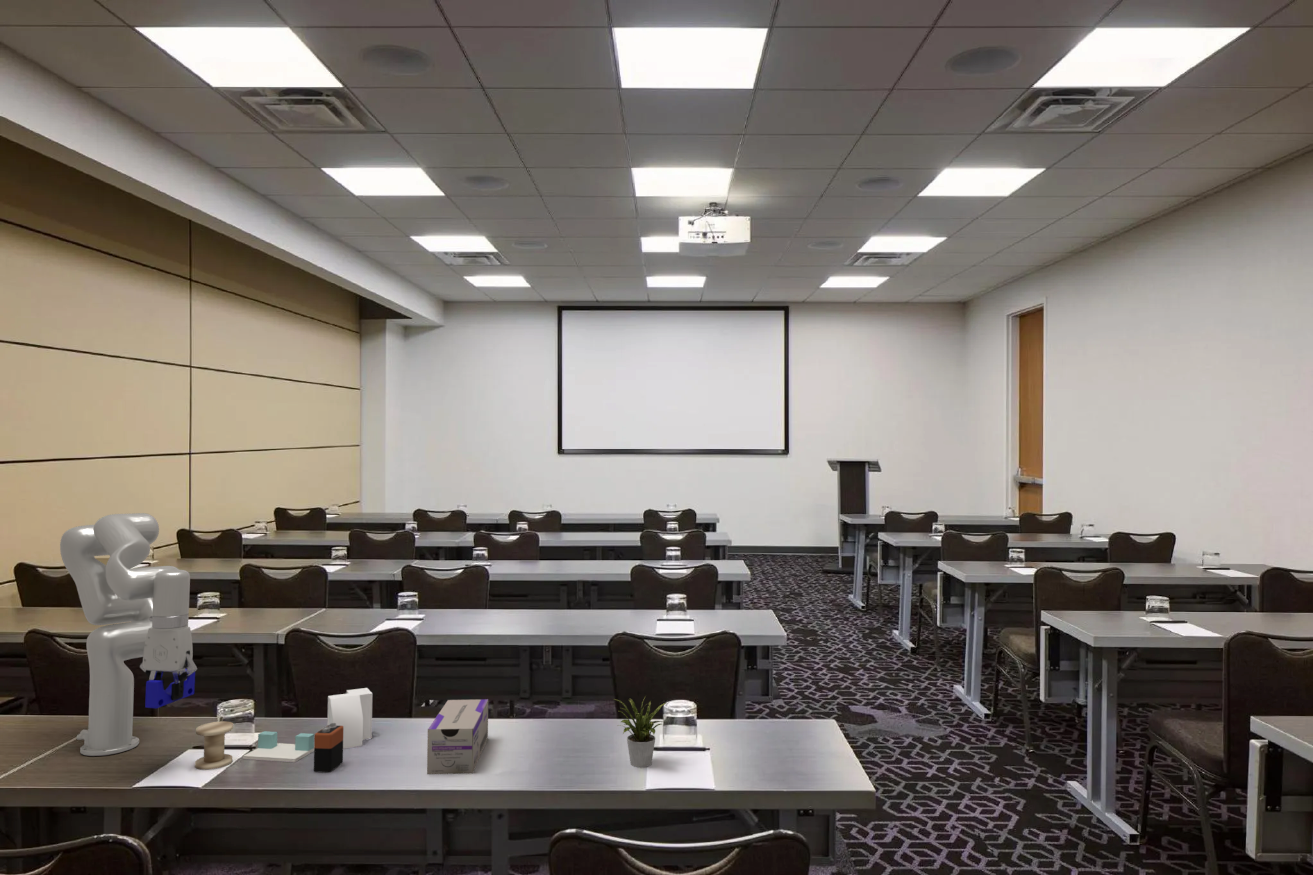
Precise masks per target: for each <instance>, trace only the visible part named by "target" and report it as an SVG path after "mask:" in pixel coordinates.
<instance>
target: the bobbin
mask: <svg viewBox="0 0 1313 875" xmlns="http://www.w3.org/2000/svg"><path fill="white" fill-rule="evenodd" d="M233 729H234V723H233V722H231V721H213V722H208V723H204V724H201V725H198V726H197V727H196V729H195V735H197V736H203V756H202V757H200V758H199V759H196V760H195V762H194V768H195V769H197V770H205V771H206V770H216V769H220V768H224V767H227V766H229V765H231V764H232V763H233V756H232V754H228V753H225V740H226V737H225V736H226V733H229V732H231V731H232V730H233Z"/></svg>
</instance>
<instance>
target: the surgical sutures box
mask: <svg viewBox="0 0 1313 875" xmlns="http://www.w3.org/2000/svg"><path fill="white" fill-rule="evenodd" d="M488 740H489V699H488V698H487V699H486V698H485V699H447V701H446V702H445V704H444V705H443V706H442V708H441V710H440V711H439V712H438V714H437V715H436V717H435V718H434V720H433V721H432V723H431V724H430V726H429V727H428V728H427V743H426V744H427V745H426V746H427V747H426V749H427V750H426V751H427V754H426V755H427V757H426V759H427V760H426V775H457V774H458V775H459V774H461V775H463V774H466V775H467V774H473V773H474V772H475V769H476V767H477V765H478V762H479V760H480V758H481V756H482V753H483V751H484V749H485V746H486V744H487V742H488Z"/></svg>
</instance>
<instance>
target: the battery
mask: <svg viewBox="0 0 1313 875" xmlns="http://www.w3.org/2000/svg"><path fill="white" fill-rule="evenodd" d="M343 759H344V749H343V726H336V723H331V724H329V725H328V726H327V725H326V726H324V727H321V729H320V730H319V731H317V732H316V733H314V751H313V771H314V772H316V773H331V772H332V771H333V770H335V769H336V768H338V767H339V766H340V765H342V763H344V762H343V761H344V760H343Z"/></svg>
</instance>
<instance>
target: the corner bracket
mask: <svg viewBox="0 0 1313 875" xmlns="http://www.w3.org/2000/svg"><path fill="white" fill-rule="evenodd" d="M331 723H336V726H343V750H344V749H345V750H346V749H351V748H357V747H362V746H363V741H365V739H366V740H370V739H369V738H372V732H373V730H372V729H373V692H372V691H371V690H370V689H369V688H368V687H364V688H355V689H346V693H343V694H341V693H340V694H333V695H328V696H327V725H326V726H328V725H329V724H331Z"/></svg>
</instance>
